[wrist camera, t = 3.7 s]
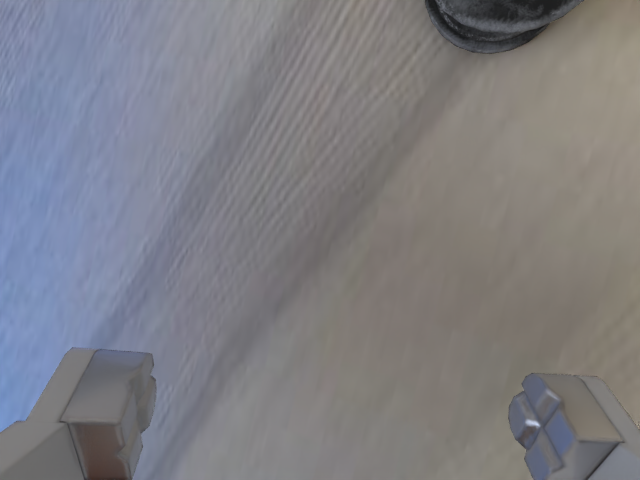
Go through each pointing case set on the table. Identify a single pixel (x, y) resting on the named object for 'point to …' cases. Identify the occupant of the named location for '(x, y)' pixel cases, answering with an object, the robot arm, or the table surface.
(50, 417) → the robot arm
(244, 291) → the table surface
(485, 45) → the salt shaker
